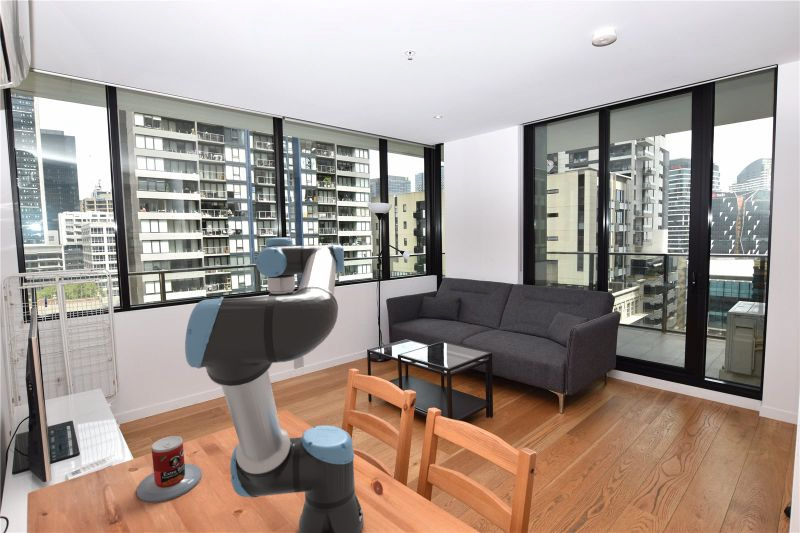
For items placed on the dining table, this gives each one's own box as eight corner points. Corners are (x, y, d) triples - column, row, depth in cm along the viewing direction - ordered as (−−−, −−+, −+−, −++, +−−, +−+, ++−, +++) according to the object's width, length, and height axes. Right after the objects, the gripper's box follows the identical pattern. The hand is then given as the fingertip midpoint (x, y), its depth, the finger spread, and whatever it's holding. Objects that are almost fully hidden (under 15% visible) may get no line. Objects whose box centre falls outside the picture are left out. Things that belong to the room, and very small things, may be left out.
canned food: (162, 491, 112) (159, 453, 111) (149, 481, 117) (146, 444, 116) (190, 477, 118) (187, 441, 117) (177, 468, 123) (174, 433, 122)
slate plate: (210, 481, 118) (210, 478, 118) (147, 511, 107) (147, 507, 106) (189, 460, 129) (188, 457, 129) (129, 485, 117) (129, 481, 117)
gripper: (318, 293, 114) (321, 368, 117) (271, 285, 131) (275, 351, 134) (294, 297, 109) (298, 375, 111) (248, 288, 126) (253, 357, 128)
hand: (285, 362), depth 122 cm, fingers open, 13 cm apart
